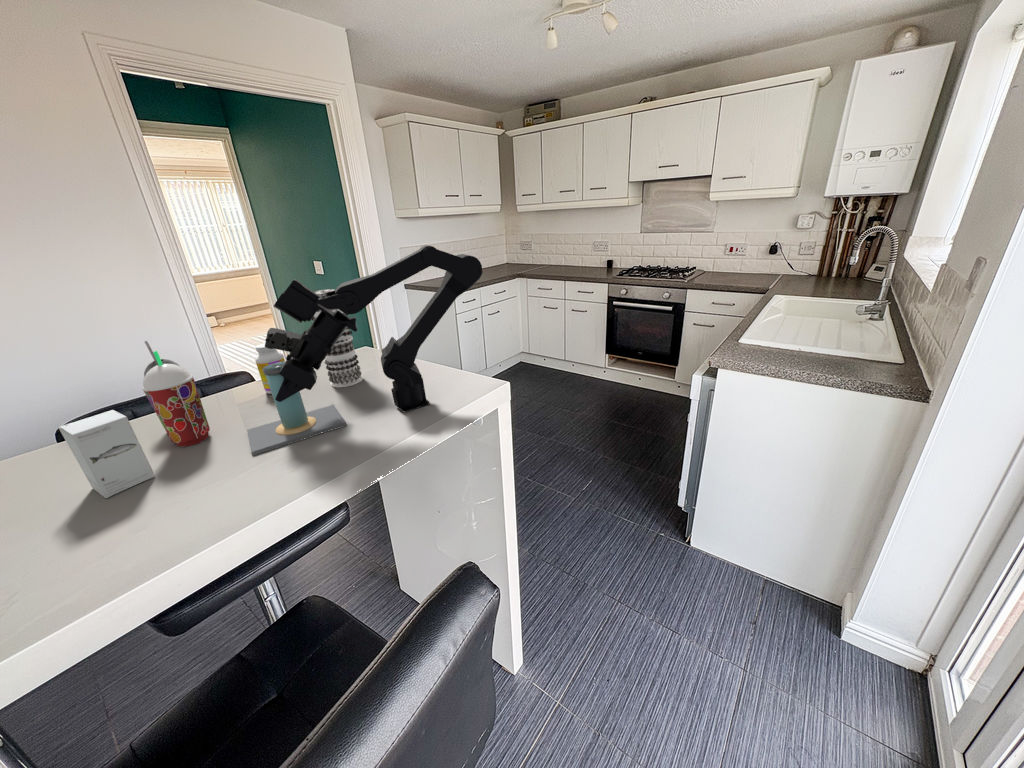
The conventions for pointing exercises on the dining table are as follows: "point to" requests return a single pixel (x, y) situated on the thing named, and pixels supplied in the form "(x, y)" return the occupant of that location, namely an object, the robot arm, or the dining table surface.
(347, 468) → the dining table surface
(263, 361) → the supplement bottle
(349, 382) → the decorative candle
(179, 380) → the smoothie
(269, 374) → the teal capped cylinder
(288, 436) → the mat
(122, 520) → the dining table surface
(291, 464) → the dining table surface
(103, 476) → the supplement box
